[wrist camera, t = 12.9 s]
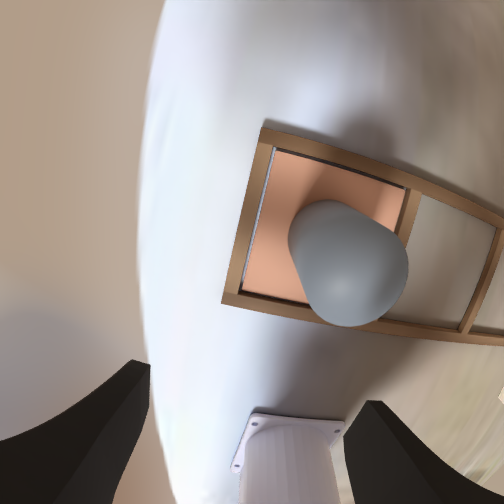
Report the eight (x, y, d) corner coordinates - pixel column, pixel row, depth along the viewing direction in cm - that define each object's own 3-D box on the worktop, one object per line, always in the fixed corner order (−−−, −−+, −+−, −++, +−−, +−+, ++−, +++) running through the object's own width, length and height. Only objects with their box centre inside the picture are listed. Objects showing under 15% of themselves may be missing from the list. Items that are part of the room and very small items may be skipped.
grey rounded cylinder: (347, 283, 17) (381, 333, 12) (277, 265, 17) (288, 315, 12) (373, 213, 16) (423, 240, 11) (301, 189, 15) (326, 206, 10)
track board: (512, 343, 19) (515, 347, 19) (222, 298, 18) (220, 303, 17) (551, 248, 16) (555, 250, 16) (261, 128, 15) (261, 127, 14)
